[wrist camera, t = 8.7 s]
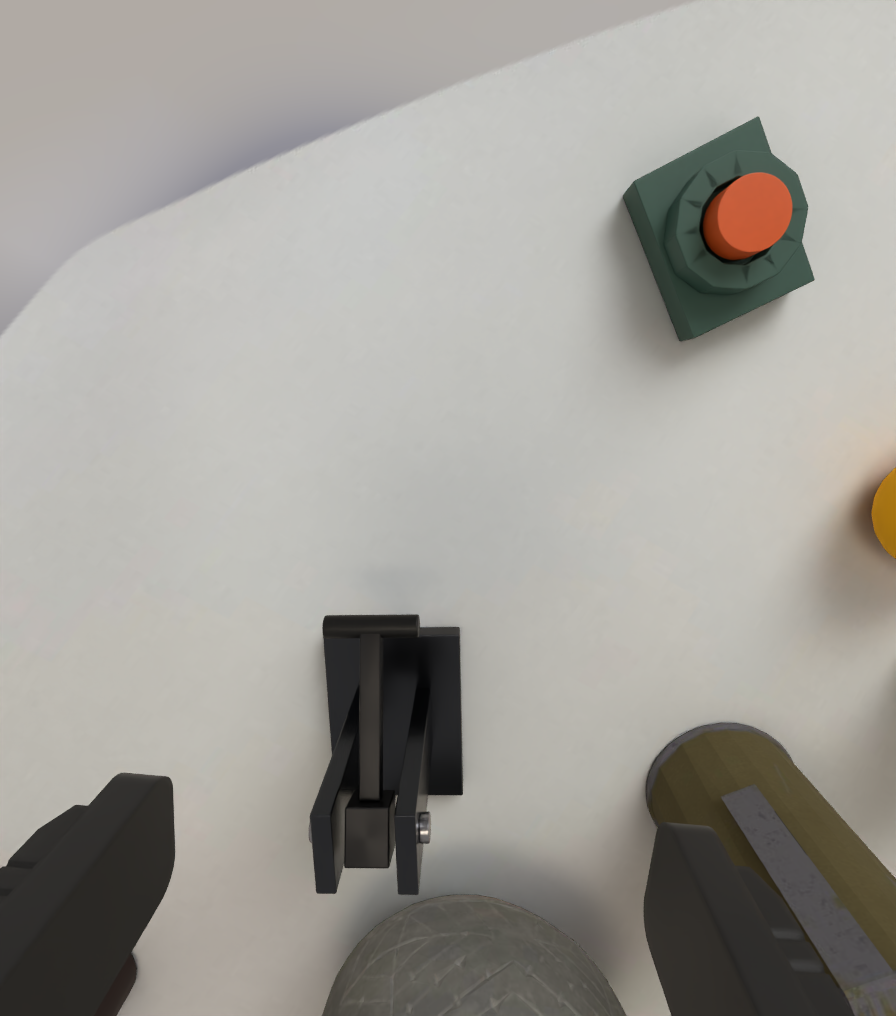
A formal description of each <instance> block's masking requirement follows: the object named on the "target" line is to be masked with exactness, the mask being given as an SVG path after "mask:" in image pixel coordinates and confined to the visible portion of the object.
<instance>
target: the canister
mask: <svg viewBox="0 0 896 1016" xmlns="http://www.w3.org/2000/svg"><path fill="white" fill-rule="evenodd" d="M646 798H647V806H648V809H649V812H650V814H651V816H652V818H653V820H654V822H655V824H656V826H657V827H658V826H659V825H660V824H661V823H662V822H668V823H679V824H690V825H702V826H709V827H711V828H712V829H713V830H714V831H715V832H716V833H717V835H718V837H719V838H720V840H721V842H722V844H723V845H724V847H725V849H726V851H727V853H728V854H729V856H730V858H731V860H732V861H733V863H734V865H735V866H746V867H750V868H751V869H753V870H754V871H755V872H756V873H757V874H758V875H759V876H760V877H761V878H762V879H763V880H764V881H765V882H766V883H767V884H768V885H769V886H770V887H771V888H772V889H773V890H774V891H775V892H776V893H777V894H778V895H779V896H780V897H781V898H782V899H783V901H784V902H785V904H786V906H787V907H788V909H789V910H790V912H791V914H792V915H793V917H794V919H795V920H796V922H797V923H798V925H799V927H800V928H801V930H802V931H803V933H804V938H805V941H806V942H809V943H810V944H811V946H812V948H813V949H814V951H815V952H816V954H817V956H818V957H819V959H820V961H821V962H822V964H823V965H824V971H825V973H826V974H829V975H830V977H831V978H832V980H833V982H834V983H835V985H836V986H837V988H838V990H839V991H840V993H841V995H842V996H843V998H844V999H845V1001H846V1003H847V1004H848V1006H849V1007H850V1009H851V1011H852V1012H853V1014H854V1016H896V879H895V877H894V876H893V875H892V874H891V873H890V872H889V871H888V870H887V868H886V867H885V866H884V865H883V864H882V863H881V862H880V861H879V859H878V858H877V857H876V856H875V855H874V854H873V853H872V851H871V850H870V849H869V848H868V847H867V846H866V845H865V844H864V842H863V841H862V840H861V839H860V838H859V837H858V836H857V835H856V833H855V832H854V831H853V830H852V829H851V828H850V827H849V826H848V824H847V823H846V822H845V821H844V820H843V819H842V818H841V816H840V815H839V814H838V813H837V812H836V811H835V810H834V809H833V807H832V806H831V805H830V804H829V803H828V802H827V801H826V800H825V798H824V797H823V796H822V795H821V794H820V793H819V792H818V790H817V789H816V788H815V787H814V786H813V785H812V784H811V783H810V781H809V780H808V779H807V778H806V777H805V776H804V775H803V774H802V772H801V771H800V770H799V769H798V768H797V767H796V766H795V765H794V763H793V761H792V759H791V757H790V755H789V754H788V753H787V752H786V750H785V749H784V748H783V746H782V745H781V744H780V743H778V742H777V741H776V740H775V739H774V738H772V737H771V736H769V735H768V734H767V733H764V732H762V731H760V730H757V729H755V728H753V727H750V726H746V725H742V724H737V723H718V724H712V725H706V726H701V727H699V728H696V729H694V730H691V731H688V732H687V733H685V734H684V735H682V736H680V737H679V738H677V739H676V740H674V741H673V742H672V743H671V744H669V745H668V746H667V747H666V748H665V749H664V751H663V752H662V753H661V754H660V755H659V756H658V758H657V759H656V760H655V762H654V764H653V766H652V769H651V771H650V773H649V776H648V780H647V793H646Z"/></svg>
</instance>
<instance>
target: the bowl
mask: <svg viewBox="0 0 896 1016" xmlns="http://www.w3.org/2000/svg"><path fill="white" fill-rule="evenodd" d="M322 1016H626V1014H625V1012H624V1010H623V1008H622V1006H621V1004H620V1002H619V1001H618V999H617V997H616V995H615V994H614V992H613V990H612V988H611V987H610V985H609V984H608V981H607V979H606V978H605V977H604V975H603V974H602V973H601V971H600V970H599V969H598V968H597V966H596V965H595V964H594V962H593V961H592V960H591V958H590V957H589V956H588V955H587V954H586V953H585V952H584V951H583V950H582V949H581V947H580V946H579V945H578V944H577V943H576V942H575V941H573V940H572V939H571V938H569V937H568V936H566V935H565V934H564V933H562V932H561V931H559V930H558V929H556V928H555V927H554V926H552V925H551V924H549V923H548V922H547V921H545V920H544V919H542V918H541V917H539V916H537V915H535V914H533V913H531V912H529V911H527V910H525V909H523V908H521V907H518V906H516V905H513V904H510V903H508V902H505V901H502V900H499V899H497V898H491V897H486V896H480V895H448V896H442V897H436V898H432V899H429V900H425V901H422V902H419V903H415V904H413V905H411V906H409V907H407V908H405V909H404V910H402V911H400V912H398V913H396V914H395V915H393V916H391V917H390V918H388V919H386V920H385V921H383V922H382V923H380V924H379V925H377V926H376V927H375V928H374V929H373V930H372V931H371V932H370V933H368V934H367V935H366V936H365V937H364V938H363V939H362V940H361V941H360V942H359V943H358V945H357V946H356V947H355V949H354V950H353V951H352V953H351V954H350V955H349V957H348V958H347V960H346V961H345V963H344V965H343V966H342V968H341V969H340V971H339V973H338V974H337V977H336V979H335V981H334V984H333V986H332V988H331V991H330V994H329V997H328V1000H327V1003H326V1006H325V1009H324V1012H323V1015H322Z"/></svg>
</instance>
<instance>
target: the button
mask: <svg viewBox="0 0 896 1016" xmlns="http://www.w3.org/2000/svg"><path fill="white" fill-rule="evenodd" d="M791 216H792V199H791V195H790V193H789V190H788V189H787V187H786V186H785V184H784V183H783V182H782V181H781V180H780V179H778V178H777V177H775V176H773V175H771V174H767V173H761V172H760V173H750V174H747V175H744V176H742V177H740V178H739V179H737V180H736V181H734V182H733V183H732V184H731V185H729V186H728V187H727V188H725V189H724V190H723V191H722V192H720V193H719V194H718V195H717V196H716V197H715V198H714V199H713V200H712V201H711V203H710V205H709V206H708V208H707V210H706V213H705V216H704V220H703V233H704V237H705V240H706V243H707V245H708V246H709V248H710V249H711V250H712V251H713V252H714V253H715V254H716V255H718V256H720V257H722V258H724V259H728V260H742V259H745V258H748V257H750V256H752V255H755V254H757V253H759V252H761V251H763V250H765V249H767V248H769V247H771V246H772V245H773V244H775V243H776V242H777V241H778V240H779V239H780V238H781V237H782V236H783V234H784V233H785V231H786V230H787V228H788V226H789V223H790V220H791Z"/></svg>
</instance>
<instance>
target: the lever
mask: <svg viewBox="0 0 896 1016" xmlns="http://www.w3.org/2000/svg"><path fill="white" fill-rule="evenodd" d="M419 633H420V619H419V615H327V616H325V617H324V620H323V636H324V638H326V639H328V638H360V694H359V790H355V791H354V792H353V794H352V796H351V798H350V800H349V802H348V804H347V805H346V807H345V845H344V866H345V868H389V866H390V862H391V858H392V855H393V851H394V848H395V823H394V814H395V790H383V638H418V637H419Z"/></svg>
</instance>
